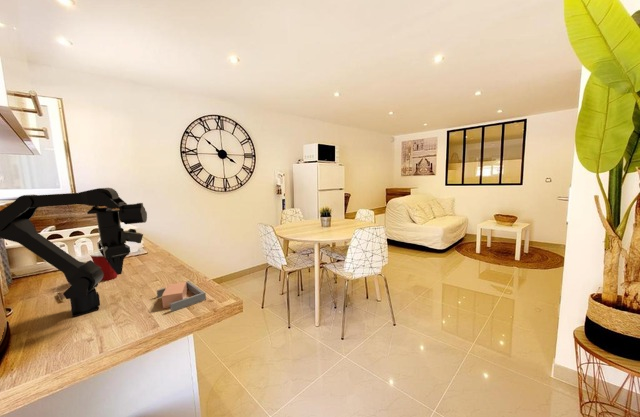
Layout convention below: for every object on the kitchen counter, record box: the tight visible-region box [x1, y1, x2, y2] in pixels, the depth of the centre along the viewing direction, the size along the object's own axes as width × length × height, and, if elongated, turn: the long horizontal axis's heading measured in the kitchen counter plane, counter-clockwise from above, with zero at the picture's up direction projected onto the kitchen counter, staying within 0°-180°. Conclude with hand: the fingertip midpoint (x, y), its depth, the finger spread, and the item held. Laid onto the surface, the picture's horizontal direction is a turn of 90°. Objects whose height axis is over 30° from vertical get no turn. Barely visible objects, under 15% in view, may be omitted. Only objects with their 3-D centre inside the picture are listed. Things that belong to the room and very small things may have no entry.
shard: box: [56, 288, 69, 303], centre depth 95 cm, size 11×8×2 cm
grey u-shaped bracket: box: [156, 280, 207, 313], centre depth 92 cm, size 11×16×2 cm
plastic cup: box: [89, 251, 118, 282], centre depth 111 cm, size 11×11×12 cm
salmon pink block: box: [161, 281, 188, 309], centre depth 90 cm, size 6×10×4 cm, turn 20°
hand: (116, 271), depth 86 cm, fingers open, 9 cm apart
